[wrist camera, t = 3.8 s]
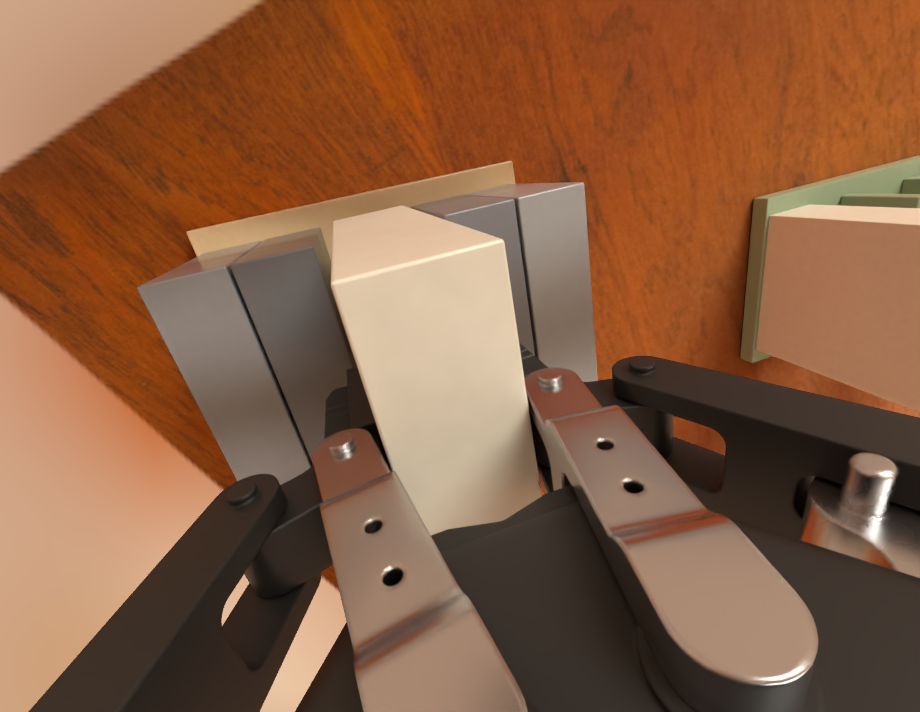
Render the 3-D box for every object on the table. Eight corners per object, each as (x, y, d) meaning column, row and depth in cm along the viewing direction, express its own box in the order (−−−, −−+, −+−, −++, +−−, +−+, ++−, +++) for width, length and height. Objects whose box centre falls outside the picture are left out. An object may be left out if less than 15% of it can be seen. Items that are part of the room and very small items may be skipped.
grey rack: (192, 229, 19) (105, 255, 12) (505, 161, 22) (590, 148, 14) (281, 432, 24) (257, 540, 16) (532, 356, 26) (607, 421, 19)
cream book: (332, 220, 17) (328, 282, 7) (403, 204, 18) (505, 238, 7) (389, 406, 21) (444, 634, 10) (446, 388, 22) (556, 589, 11)
